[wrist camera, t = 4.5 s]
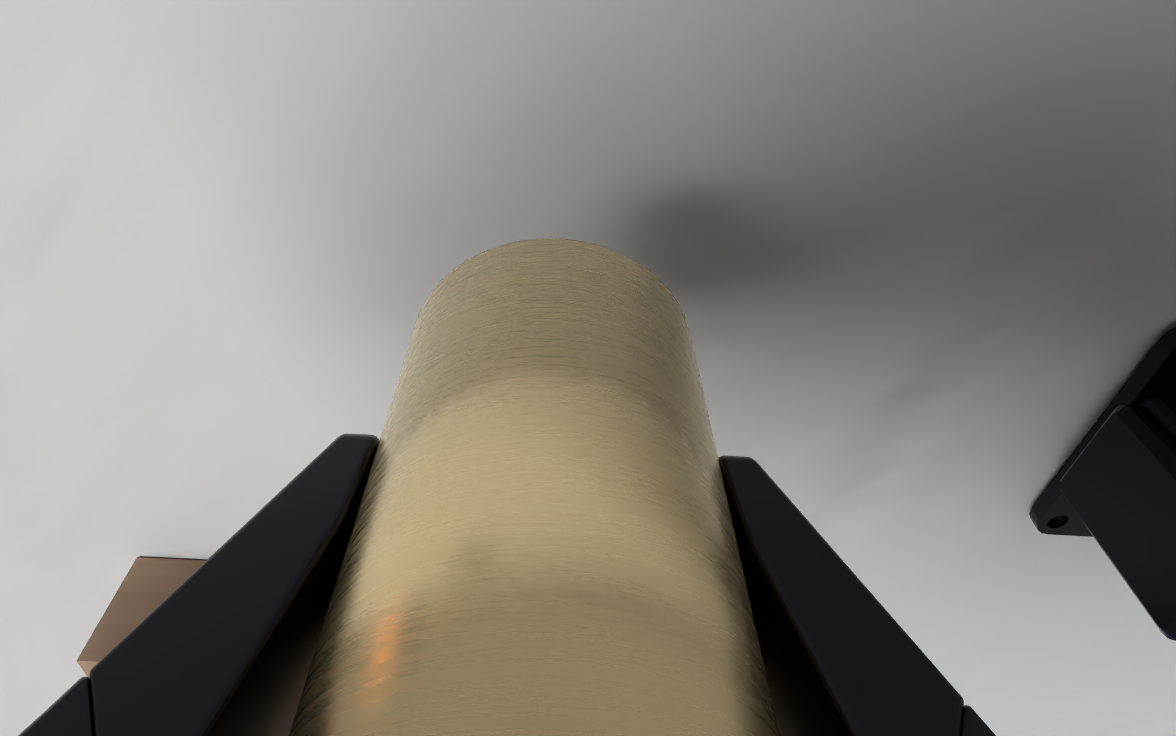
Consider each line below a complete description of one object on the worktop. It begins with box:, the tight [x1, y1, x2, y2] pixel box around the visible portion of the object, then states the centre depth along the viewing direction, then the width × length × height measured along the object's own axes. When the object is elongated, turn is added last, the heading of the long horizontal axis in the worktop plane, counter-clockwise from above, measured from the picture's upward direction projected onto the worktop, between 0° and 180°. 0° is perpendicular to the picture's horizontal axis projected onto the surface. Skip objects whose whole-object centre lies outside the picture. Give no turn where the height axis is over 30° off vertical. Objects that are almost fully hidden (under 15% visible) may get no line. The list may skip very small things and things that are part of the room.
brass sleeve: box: [289, 239, 780, 736], centre depth 7 cm, size 4×4×8 cm
